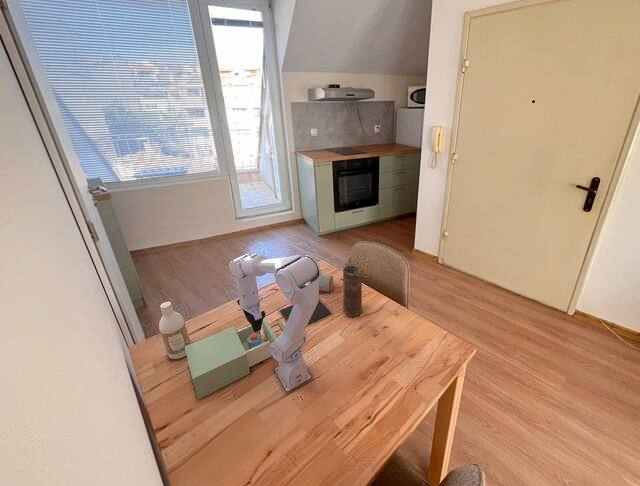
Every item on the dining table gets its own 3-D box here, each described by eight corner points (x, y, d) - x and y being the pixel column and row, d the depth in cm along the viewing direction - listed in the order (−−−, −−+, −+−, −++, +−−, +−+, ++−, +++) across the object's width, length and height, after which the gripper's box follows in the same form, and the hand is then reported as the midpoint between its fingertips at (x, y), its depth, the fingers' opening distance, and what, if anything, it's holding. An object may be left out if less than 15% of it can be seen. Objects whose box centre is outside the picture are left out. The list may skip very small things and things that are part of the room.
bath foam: (169, 363, 94) (152, 315, 86) (167, 348, 99) (152, 302, 91) (193, 354, 98) (179, 307, 89) (190, 340, 103) (177, 294, 95)
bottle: (263, 349, 98) (261, 336, 95) (251, 355, 96) (249, 341, 93) (259, 341, 101) (257, 328, 98) (247, 347, 99) (245, 334, 96)
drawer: (278, 325, 109) (277, 311, 106) (293, 347, 100) (291, 332, 97) (227, 348, 99) (224, 333, 96) (238, 375, 90) (234, 359, 87)
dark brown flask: (340, 307, 120) (340, 266, 112) (356, 302, 123) (357, 262, 115) (347, 319, 114) (348, 277, 106) (364, 314, 117) (366, 272, 109)
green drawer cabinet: (237, 345, 102) (233, 326, 98) (250, 373, 92) (246, 353, 88) (190, 366, 94) (184, 346, 90) (198, 399, 84) (192, 378, 80)
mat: (330, 313, 117) (330, 312, 117) (293, 331, 108) (293, 330, 108) (315, 296, 126) (315, 295, 126) (279, 311, 118) (279, 310, 117)
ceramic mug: (330, 295, 127) (330, 280, 124) (312, 293, 128) (311, 279, 125) (334, 281, 137) (334, 267, 134) (317, 279, 137) (317, 265, 134)
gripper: (269, 297, 89) (273, 331, 94) (252, 275, 99) (257, 306, 105) (245, 306, 85) (251, 341, 90) (231, 282, 95) (237, 314, 101)
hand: (253, 323), depth 97 cm, fingers open, 7 cm apart
